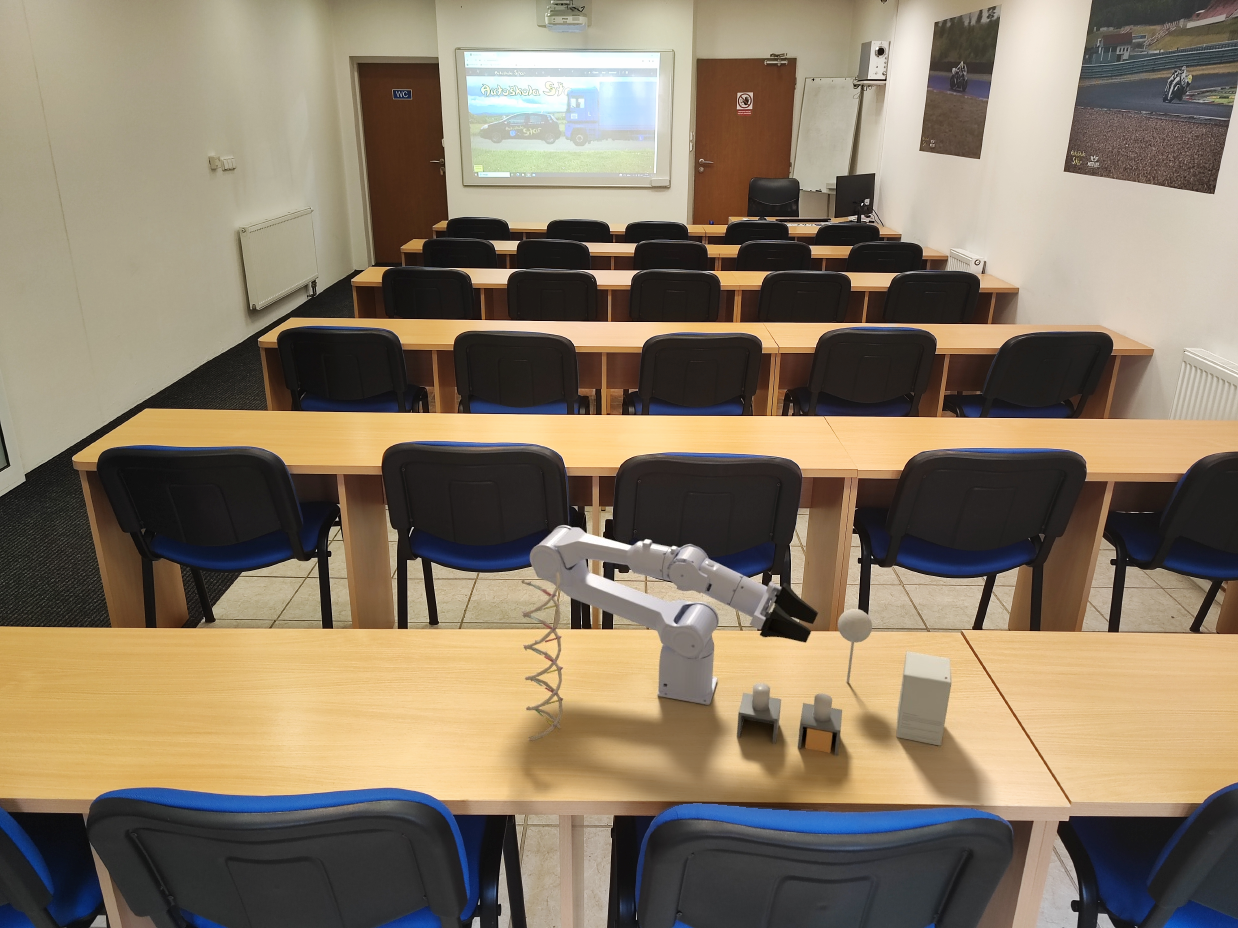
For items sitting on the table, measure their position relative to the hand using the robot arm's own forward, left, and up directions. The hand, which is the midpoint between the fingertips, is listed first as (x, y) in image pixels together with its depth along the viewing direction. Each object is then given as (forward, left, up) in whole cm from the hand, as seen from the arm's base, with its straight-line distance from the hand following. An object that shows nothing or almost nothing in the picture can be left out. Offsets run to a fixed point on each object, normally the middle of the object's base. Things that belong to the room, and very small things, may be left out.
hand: (812, 627), depth 145 cm
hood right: (+3, -6, -18) cm, 19 cm away
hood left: (-7, -6, -18) cm, 20 cm away
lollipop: (+7, +12, -18) cm, 23 cm away
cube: (+3, -6, -18) cm, 19 cm away
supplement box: (+19, +2, -18) cm, 27 cm away
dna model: (-41, -17, -18) cm, 48 cm away
